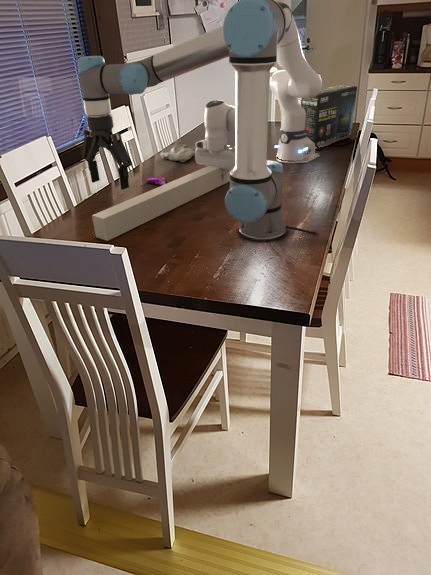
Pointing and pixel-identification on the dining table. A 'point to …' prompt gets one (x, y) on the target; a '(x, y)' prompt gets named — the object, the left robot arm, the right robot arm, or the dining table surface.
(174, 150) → the fossil
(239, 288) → the dining table surface
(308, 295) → the dining table surface
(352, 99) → the router box
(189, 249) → the dining table surface
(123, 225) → the beam
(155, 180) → the handgun
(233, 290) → the dining table surface
